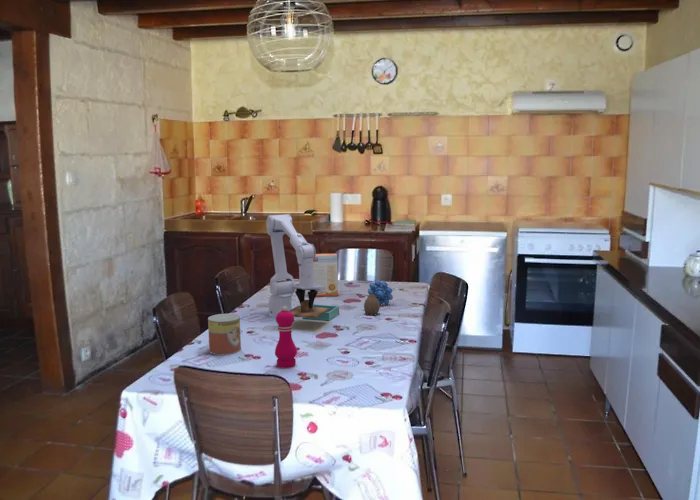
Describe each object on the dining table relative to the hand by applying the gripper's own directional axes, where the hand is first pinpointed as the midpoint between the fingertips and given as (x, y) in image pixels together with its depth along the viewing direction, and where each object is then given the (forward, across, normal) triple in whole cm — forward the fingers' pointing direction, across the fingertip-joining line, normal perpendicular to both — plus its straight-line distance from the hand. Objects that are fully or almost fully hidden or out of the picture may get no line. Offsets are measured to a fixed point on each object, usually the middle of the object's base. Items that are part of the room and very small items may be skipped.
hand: (306, 307), depth 248 cm
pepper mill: (+8, +12, -45) cm, 47 cm away
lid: (+2, 0, 0) cm, 2 cm away
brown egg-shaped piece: (+8, +19, +27) cm, 34 cm away
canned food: (+8, -16, -37) cm, 41 cm away
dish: (+8, 0, +15) cm, 17 cm away
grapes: (+8, +18, +43) cm, 47 cm away
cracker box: (+8, -15, +55) cm, 58 cm away
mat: (+8, 0, 0) cm, 8 cm away
